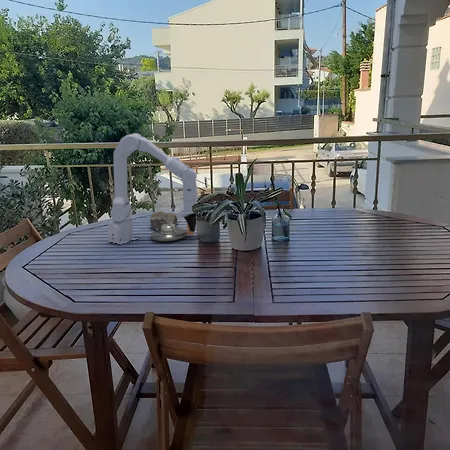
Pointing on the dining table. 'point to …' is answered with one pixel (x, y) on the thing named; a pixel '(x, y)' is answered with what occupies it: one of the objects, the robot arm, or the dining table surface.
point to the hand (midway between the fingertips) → (192, 231)
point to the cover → (168, 229)
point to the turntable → (178, 235)
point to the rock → (162, 219)
